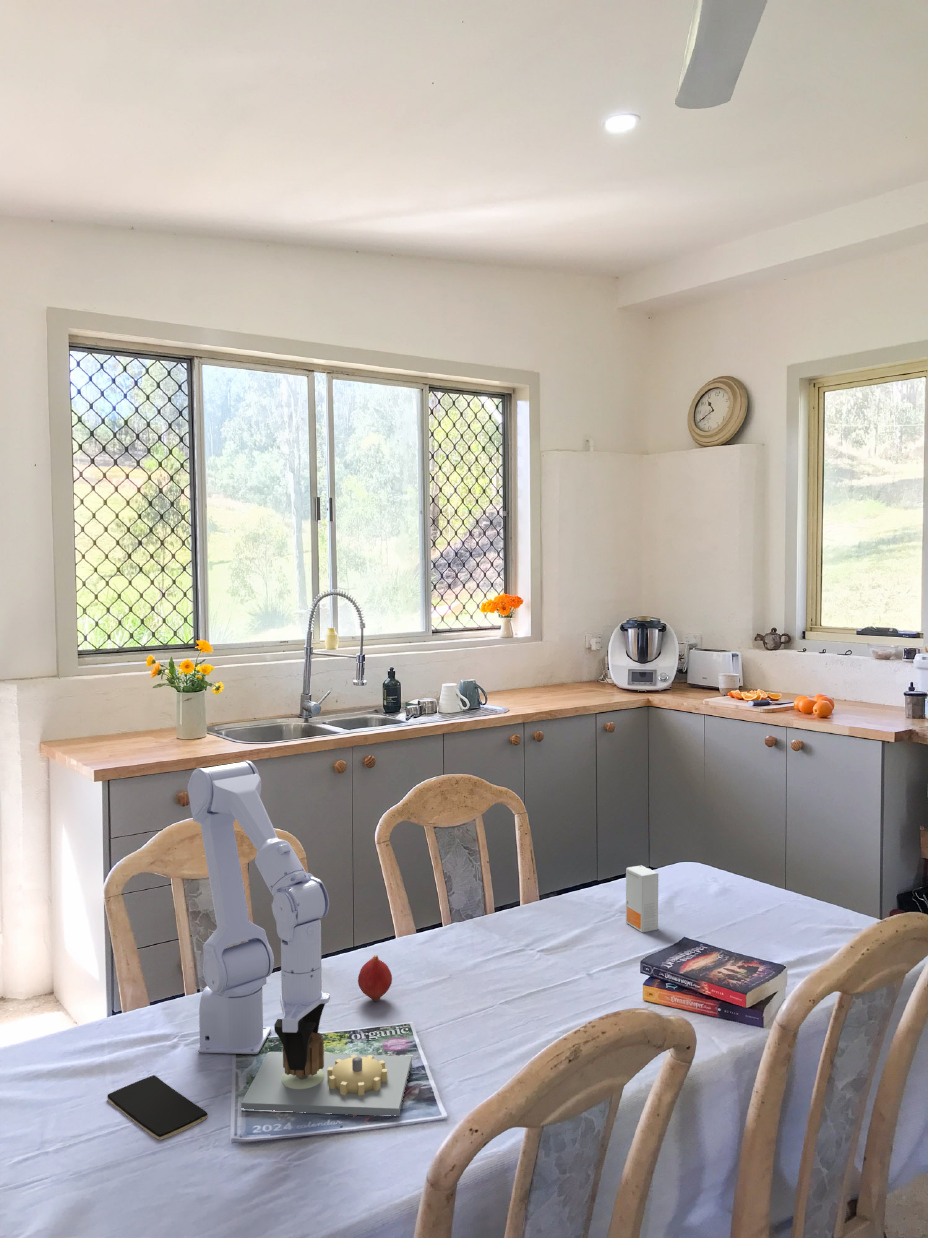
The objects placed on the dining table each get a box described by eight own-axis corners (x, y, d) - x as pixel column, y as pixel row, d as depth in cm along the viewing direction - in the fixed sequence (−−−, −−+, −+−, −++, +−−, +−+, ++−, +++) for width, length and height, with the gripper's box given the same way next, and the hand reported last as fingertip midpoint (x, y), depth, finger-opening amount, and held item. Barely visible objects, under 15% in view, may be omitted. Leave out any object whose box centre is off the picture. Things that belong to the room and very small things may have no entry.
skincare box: (624, 923, 202) (625, 867, 202) (641, 920, 204) (642, 864, 204) (641, 933, 197) (642, 876, 196) (658, 930, 199) (659, 873, 198)
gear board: (241, 1111, 133) (240, 1082, 133) (268, 1059, 147) (268, 1032, 147) (398, 1117, 132) (398, 1087, 132) (411, 1064, 146) (411, 1037, 146)
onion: (351, 1003, 166) (351, 958, 166) (370, 990, 171) (369, 946, 171) (380, 1010, 163) (379, 964, 163) (398, 997, 168) (397, 952, 168)
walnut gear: (278, 1077, 137) (278, 1049, 137) (288, 1056, 143) (288, 1030, 142) (319, 1078, 137) (318, 1050, 136) (327, 1057, 142) (327, 1031, 142)
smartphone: (153, 1074, 142) (209, 1113, 132) (153, 1081, 142) (209, 1121, 132) (105, 1094, 137) (160, 1136, 126) (105, 1102, 137) (160, 1144, 126)
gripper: (317, 988, 131) (318, 1085, 132) (338, 946, 146) (339, 1034, 147) (266, 987, 132) (268, 1083, 133) (292, 945, 146) (294, 1032, 147)
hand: (302, 1057), depth 140 cm, fingers closed on walnut gear, 6 cm apart
